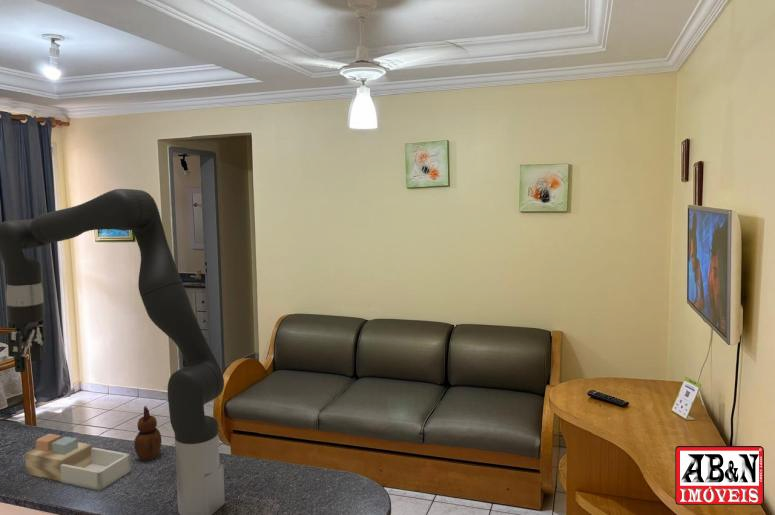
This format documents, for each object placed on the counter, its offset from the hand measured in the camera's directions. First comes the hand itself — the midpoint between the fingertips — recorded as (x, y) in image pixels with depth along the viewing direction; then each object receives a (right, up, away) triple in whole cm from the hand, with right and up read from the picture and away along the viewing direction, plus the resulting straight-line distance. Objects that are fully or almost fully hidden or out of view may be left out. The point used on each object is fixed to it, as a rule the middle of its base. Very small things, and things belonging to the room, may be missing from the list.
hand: (28, 365), depth 136 cm
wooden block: (+4, -28, +6) cm, 29 cm away
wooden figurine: (+24, -27, +12) cm, 39 cm away
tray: (+16, -28, +2) cm, 32 cm away
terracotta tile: (+1, -22, +6) cm, 23 cm away
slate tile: (+6, -22, +4) cm, 24 cm away
